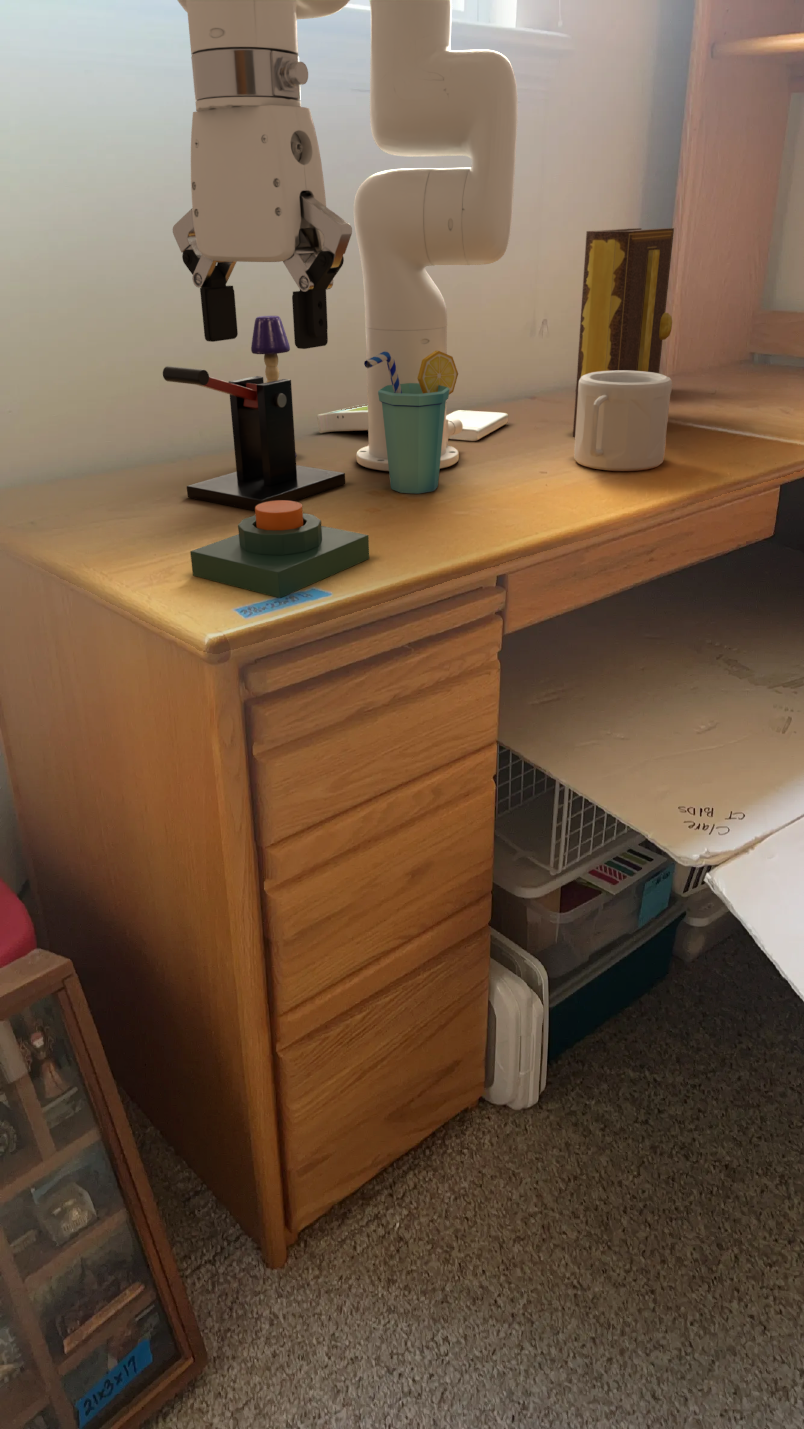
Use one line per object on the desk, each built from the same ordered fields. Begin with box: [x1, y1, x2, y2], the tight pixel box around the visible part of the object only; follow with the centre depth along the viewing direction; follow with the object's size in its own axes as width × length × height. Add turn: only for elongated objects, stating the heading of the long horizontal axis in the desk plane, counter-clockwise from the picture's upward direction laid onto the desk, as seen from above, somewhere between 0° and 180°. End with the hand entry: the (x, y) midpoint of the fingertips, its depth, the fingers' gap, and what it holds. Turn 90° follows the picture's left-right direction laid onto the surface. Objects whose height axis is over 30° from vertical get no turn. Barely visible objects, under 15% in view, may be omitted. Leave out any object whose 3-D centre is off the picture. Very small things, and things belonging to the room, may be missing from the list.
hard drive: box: [446, 409, 509, 442], centre depth 138 cm, size 2×8×12 cm
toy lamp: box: [250, 315, 297, 458], centre depth 120 cm, size 5×5×17 cm
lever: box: [162, 365, 258, 410], centre depth 101 cm, size 13×5×2 cm, turn 145°
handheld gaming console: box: [316, 405, 368, 434], centre depth 137 cm, size 11×3×15 cm
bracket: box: [186, 375, 346, 512], centre depth 107 cm, size 14×11×12 cm
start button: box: [254, 500, 304, 530], centre depth 84 cm, size 4×4×2 cm
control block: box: [189, 512, 370, 599], centre depth 85 cm, size 12×10×4 cm
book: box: [572, 227, 675, 437], centre depth 135 cm, size 22×8×25 cm, turn 151°
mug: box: [573, 370, 673, 472], centre depth 116 cm, size 14×11×10 cm
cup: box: [363, 351, 459, 495], centre depth 106 cm, size 14×8×15 cm, turn 143°
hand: (265, 343), depth 78 cm, fingers open, 9 cm apart
